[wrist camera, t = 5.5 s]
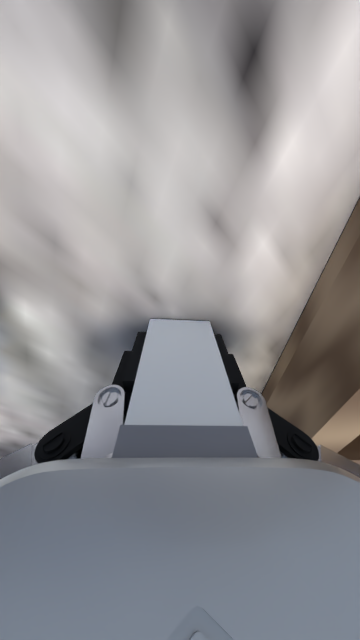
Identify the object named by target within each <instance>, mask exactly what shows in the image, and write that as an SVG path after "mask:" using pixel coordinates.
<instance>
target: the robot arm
mask: <svg viewBox="0 0 360 640" xmlns="http://www.w3.org/2000/svg"><path fill="white" fill-rule="evenodd" d="M146 333H147V332H138V334H137V337H136V340H135V343H134V346H133V349H132V351H125V352H124V354H123V356H122V359H121V362H120V364H119V367H118V370H117V372H116V375H115V378H114V380H113V383H112V385H108V386H106V387H104V388H102V389H101V390H99V391H98V393H97V394H96V395H95V398H94V402H93V404H91V405H90V406H88V407H87V408H85V409H83V410H82V411H80V412H79V413H77V414H76V415H74V416H73V417H71V418H69V419H68V420H66V421H65V422H63V423H62V424H60V425H59V426H57V427H55V428H54V429H52V430H51V431H49V432H48V433H47V434H46V435H44V437H43V438H42V439H41V440H40V441H39V443H37V444H35V445H32V444H29V445H27V446H25V447H23V448H21V449H19V450H17V451H15V452H13V453H11V454H9V455H7V456H5V457H3V458H1V459H0V640H360V465H359V464H357V463H355V462H353V461H351V460H349V459H347V458H345V457H344V456H342V455H340V454H338V453H336V452H334V451H332V450H330V449H328V448H326V447H324V446H323V445H321V444H320V445H319V446H318V445H316V444H315V443H314V441H313V440H312V439H311V438H310V437H309V436H308V435H307V434H306V433H304V432H303V431H301V430H300V429H299V428H297V427H296V426H294V425H293V424H291V423H290V422H288V421H287V420H285V419H284V418H282V417H281V416H279V415H278V414H276V413H275V412H273V411H272V410H271V409H269V408H268V407H267V405H266V401H265V399H264V397H263V396H262V395H261V394H260V393H259V392H258V391H257V390H255V389H253V388H249V387H246V385H245V382H244V380H243V377H242V375H241V372H240V370H239V368H238V365H237V363H236V360H235V358H234V356H233V354H228V352H227V349H226V347H225V344H224V341H223V339H222V336H221V335H216V334H214V336H215V339H216V342H217V345H218V349H219V352H220V355H221V358H222V361H223V364H224V367H225V370H226V374H227V377H228V380H229V383H230V386H231V389H232V392H233V395H234V399H235V402H236V405H237V408H238V411H239V414H240V417H241V420H242V424H243V426H248V429H249V432H250V435H251V438H252V441H253V444H254V447H255V450H256V453H257V456H258V458H217V457H216V458H112V455H113V451H114V447H115V443H116V440H117V436H118V432H119V428H120V425H124V424H125V420H126V416H127V411H128V407H129V403H130V399H131V395H132V391H133V387H134V383H135V379H136V375H137V370H138V366H139V362H140V358H141V354H142V350H143V346H144V342H145V338H146Z"/></svg>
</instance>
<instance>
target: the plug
mask: <svg viewBox="0 0 360 640" xmlns="http://www.w3.org/2000/svg"><path fill="white" fill-rule="evenodd" d="M216 457H217V458H258V456H257V453H256V450H255V447H254V444H253V441H252V438H251V435H250V432H249V429H248V426H243V424H242V420H241V417H240V414H239V411H238V408H237V405H236V402H235V399H234V395H233V392H232V389H231V386H230V383H229V380H228V377H227V374H226V370H225V367H224V364H223V361H222V358H221V355H220V352H219V349H218V345H217V342H216V339H215V336H214V333H213V330H212V327H211V324H210V321H192V320H168V319H150V321H149V325H148V329H147V333H146V338H145V342H144V346H143V350H142V354H141V358H140V362H139V366H138V370H137V375H136V379H135V383H134V387H133V391H132V395H131V399H130V403H129V407H128V411H127V416H126V420H125V424H124V425H120V428H119V432H118V436H117V440H116V443H115V447H114V451H113V455H112V458H216Z"/></svg>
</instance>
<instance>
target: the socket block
mask: <svg viewBox="0 0 360 640" xmlns="http://www.w3.org/2000/svg"><path fill="white" fill-rule="evenodd" d="M262 396H263V397H264V399H265V401H266V405H267V407H268V408H269V409H271V410H272V411H273V412H275V413H276V414H278V415H279V416H281V417H282V418H284V419H285V420H287V421H288V422H290V423H291V424H293V425H294V426H296V427H297V428H299V429H300V430H301V431H303V432H304V433H306V434H307V435H308V436H309V437H310V438H311V439H312V440H313V441H314V443H315V444H316V445H318V446H319V445H320V444H321V445H323V446H324V447H326V448H328V449H330V450H332V451H334V452H336V453H338V454H340V455H342V456H344V457H345V458H347V459H349V460H351V461H353V462H355V463H357V464H359V465H360V198H359V200H358V202H357V204H356V206H355V208H354V210H353V212H352V214H351V216H350V218H349V220H348V222H347V224H346V226H345V228H344V230H343V232H342V234H341V236H340V238H339V240H338V242H337V244H336V246H335V249H334V251H333V253H332V255H331V257H330V259H329V261H328V263H327V265H326V267H325V269H324V271H323V273H322V275H321V277H320V279H319V281H318V283H317V285H316V287H315V289H314V291H313V293H312V295H311V297H310V299H309V301H308V303H307V305H306V307H305V309H304V311H303V313H302V315H301V317H300V319H299V321H298V323H297V325H296V327H295V329H294V331H293V333H292V335H291V337H290V339H289V341H288V343H287V345H286V347H285V349H284V351H283V353H282V355H281V357H280V359H279V361H278V363H277V365H276V367H275V369H274V371H273V373H272V375H271V377H270V379H269V381H268V383H267V385H266V387H265V389H264V391H263V393H262Z"/></svg>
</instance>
